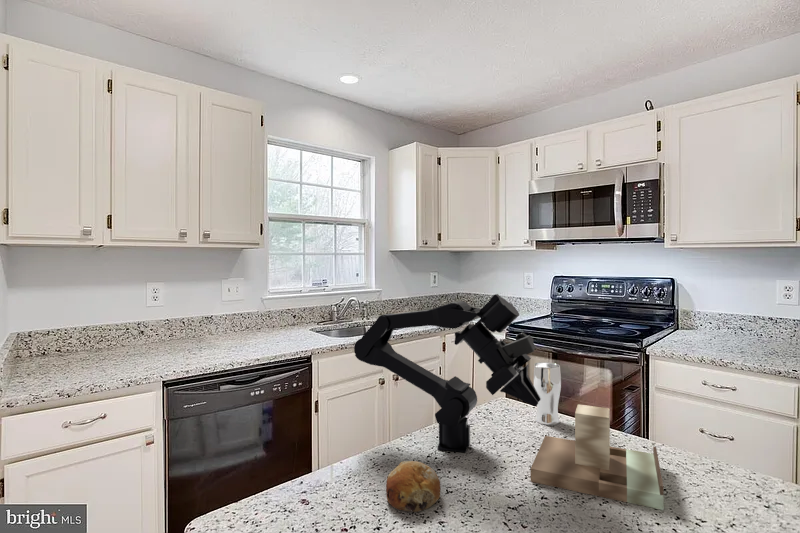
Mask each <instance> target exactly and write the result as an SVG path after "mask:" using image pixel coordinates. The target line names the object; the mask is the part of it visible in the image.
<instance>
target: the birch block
mask: <svg viewBox="0 0 800 533" xmlns="http://www.w3.org/2000/svg"><path fill="white" fill-rule="evenodd" d="M610 414H611V413H610V408H608V407H602V406H601V407H600V406H595V405H593V406H592V405H586V404H577V405H576V409H575V413H574V429H575V430H574V441H575V464H580V465H585V466H590V467H595V468H601V469H606V470H609V462H610V447H611V437H610V435H611V434H610V432H611V431H610V430H611V429H610V428H611V427H610V425H611V423H610V421H611V420H610V418H611V416H610Z"/></svg>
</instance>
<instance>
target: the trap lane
mask: <svg viewBox="0 0 800 533" xmlns="http://www.w3.org/2000/svg"><path fill="white" fill-rule="evenodd" d="M652 451H653V452H652V453H651V452H645V451H640V450H633V449H628V448H623V447H622V448H621V447H617V446H616V447H615V446H610V462H609V470H606V469H601V468H595V467H590V466H585V465H580V464H575V439H567V438H562V437H557V436H550V435H545V436H544V438H543V440H542V443H541V444H540V447H539V449H538V451H537V453H536V454H535V458H534V461H533V462H532V464H531V467H530V482H531V483H536V484H539V485H544V486H545V485H546V486H549V487H554V488H559V489H564V490H569V491H573V492H577V493H578V492H579V493H582V494H586V495H591V496H596V497H599V498H600V497H601V498H605V499H610V500H615V501H619V502H624V503H628V504H633V505H638V506H643V507H647V508H651V509H657V510H661V511H664V510H665V509H664V497H665V496H664V493H665V492H664V482H663V477H662V472H661V467H660V466H661V465H660V461H659V454H658V449H657V446H653V450H652Z"/></svg>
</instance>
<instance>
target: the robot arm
mask: <svg viewBox="0 0 800 533" xmlns="http://www.w3.org/2000/svg"><path fill="white" fill-rule="evenodd" d="M519 316H520V312H519V311H518V309H517V308H516V307H515V306H514V305H513V304H512V303H511V302H508V301H507V300H506V299H505V298H503V297H502V296H501V295H500V294H499V293H496V294H493V296H492V297H490V299H489V300H488V302H486V304H484V306H482V307H481V308H478V307H473V306H470V304H469V303H467V301H464V300H459V301H455V302H450V303H447V304H443V305H440V306H437V307H435V308H431V309H423V310H413V311H408V312H407V311H406V312H399V313H385V314H384V313H383V314H380V315H379V316H378V317H377V318H376V320H375V322H374V323H373V324H372V325H371V327H369V329H367V330H366V332H365V333H363V335H362V336H361V338H359V339H358V340H356V341H355V343H354V347H353V350H354V356H355V358H356V359H357V360H358V361H360V362H363V363H366V364H368V365H370V366H377V367H380V368H385V369H387V371H389V372H392V373H393V374H395V375H396V376H398V377H400V378H402V379H403V380H405V381H406V382H408V383H410V384H411V385H413V386H415V387H417V388H418V389H419V390H422V391H423V392H425V393H427V394H428V395H430V396H431V397H432V398H433V399H434V400H435V401H436V403H437V404H438V406H439V407H440V409H439V410H438V411H436V412H435V413H434V417H435V420H436V423H437V424H438V444H437V450H440V451H441V450H442V451H449V452H460V453H466V452H467V449H468V448H469V447H470V445H471V425H470V424H468V423H469V422H468V421H469V420H468V417H467V416H469V414H470V412H471V411H473V409H475V407H476V405H477V404H478V395H477V393H476V391H475V389H474V388H472V387H471V383H469V382H464V381H463V380H462V379H460V378H459V377H457V376H453V377H452V378H450V379H449V380H447V379H444V378H442V377H440V376H438V375H437V374H435V373H433V372H431V371H430V370H428V369H426V368H424V367H422V366H421V365H419V364H417V363H415V362H414V361H412V360H411V359H408V357H406V356H404V355H401V354H400V353H398V352H397V351H395V350H394V348H393V346H392V345H391V343H390V342H389V340H390V339H391V337H392V335H393V332H394V330H398V329H407V328H419V327H420V328H421V327H429V326H430V327H437V328H443V329H444V328H445V329H457V328H461V327H464V326H465V327H464V328H463V330H461V331H456V332H454V345H456V346H457V345H459V344H461V343H463V342H465V343H466V344H467V346H468V347H469V349H470V350H472V351H473V352H474V354H475V355H476V356H477V357H478V358H479V359H478V360H477V361H478V363H479V364H484V365H485V366H486V367H487V368H488V369H489V370H490V371H491V373H492V374H491V375H490V376H491V377H490V378H489V379H488V380H486V381H485V388H486V389H487V390H488V393H490V394H491V396H494V395H495V394H496V393H497V392H498V391H499V392H500V393H504V394H507V395H508V396H510V397H514V398H515V399H519V400H520V401H522V402H525V403H527V404H529V405H531V406H533V407H537V404H538V402H539V401H540V400H541V398H540V396H539V395H538V393H537V391H536V389H535V387H534V383H533V382H532V380H531V378H530V376H529V367H530V366H529V364H526V363H528V362H530V360H531V358H532V357H530V356H529V354H531V353H534V352H535V350H537V347H536V345H535V343H534V341H535V340H534V338H532V336H531V335H530V334H529V335H527V334H526V333H525V332H521V333H518V334H517V335H515V340H513V341H511V342H510V343H506V341H505V340H502V339H500V340H498V338H497V337H496V336H495V335H494V334H493V333H495V332H496V333H499V334H501V333H502V332H504V331H505V329H507V328H508V327H509V326H510V325H511V324H512V323H513V322H515V320H516V319H518V317H519ZM475 320H478V321H476V322H475V323H474V324H472V323H470V322H473V321H475ZM466 325H467V326H466ZM525 364H526V365H525ZM524 365H525V366H524Z"/></svg>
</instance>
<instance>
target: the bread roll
mask: <svg viewBox="0 0 800 533" xmlns="http://www.w3.org/2000/svg"><path fill="white" fill-rule="evenodd" d="M385 484H386V485H385V489H386V490H385V492H386V494H385V495H386V499H387V502H388V503H389V505H390V506H391V507H393V508H395V509H396V510H398V511H402V512H403V511H404V512H409V513H411V512H413V513H417V512H422V511H424V510H428V509H430V508H431V507H432V506H433V505H435V504H436V503H437V502H438V500H439V499H440V498H441V480H440V478H439V476H438V474H437V472H436V471H435V470H434V469H433V468H432V467H430V466H429V465H427V464H425V463H423V462H421V461H416V460H405V461H401V462H399V464H398V465H397V466H396V467H395V468H393V470H391V471H390V472H389V474H388V475H387V478H386V483H385Z"/></svg>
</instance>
